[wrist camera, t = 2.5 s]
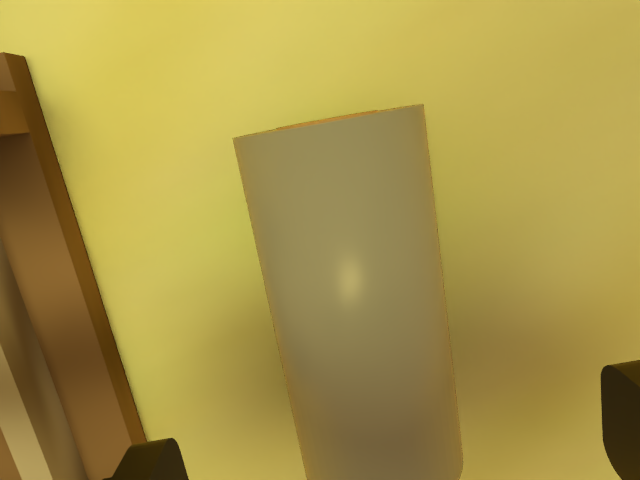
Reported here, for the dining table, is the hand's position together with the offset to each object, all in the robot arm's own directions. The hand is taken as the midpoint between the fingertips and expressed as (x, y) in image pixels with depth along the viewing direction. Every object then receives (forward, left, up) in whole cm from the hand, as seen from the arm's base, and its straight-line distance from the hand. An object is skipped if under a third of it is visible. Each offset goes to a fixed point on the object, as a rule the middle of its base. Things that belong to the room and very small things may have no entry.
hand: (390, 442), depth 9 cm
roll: (0, 0, -8) cm, 8 cm away
